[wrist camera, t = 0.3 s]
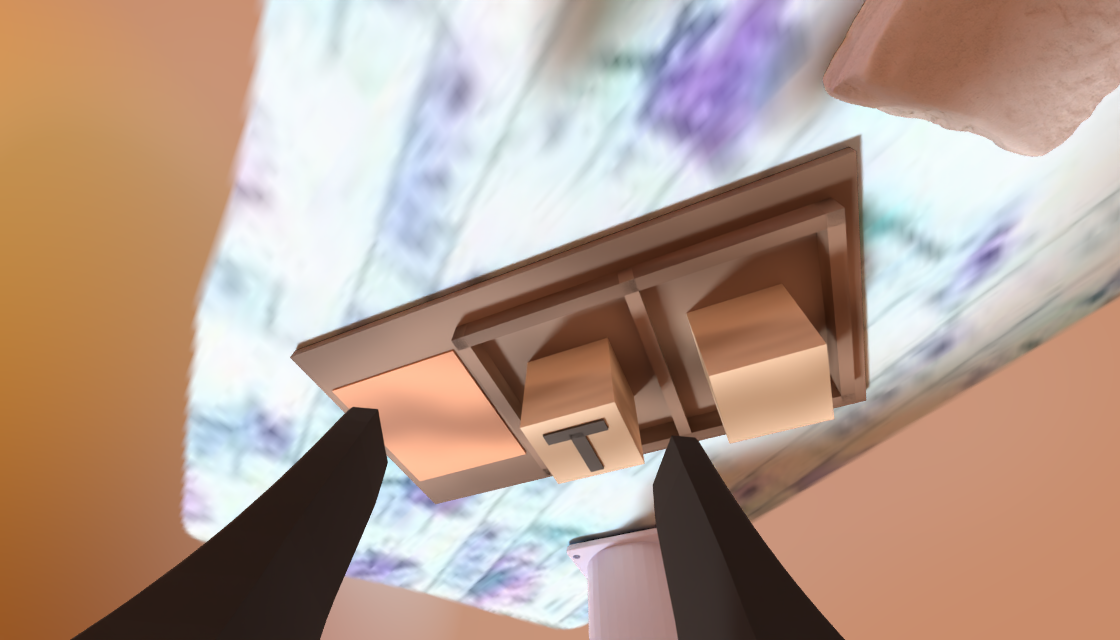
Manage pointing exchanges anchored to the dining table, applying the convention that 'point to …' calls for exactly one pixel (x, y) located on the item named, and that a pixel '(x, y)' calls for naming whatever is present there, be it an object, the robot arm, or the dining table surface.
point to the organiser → (603, 327)
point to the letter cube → (581, 413)
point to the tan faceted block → (983, 65)
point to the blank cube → (763, 364)
